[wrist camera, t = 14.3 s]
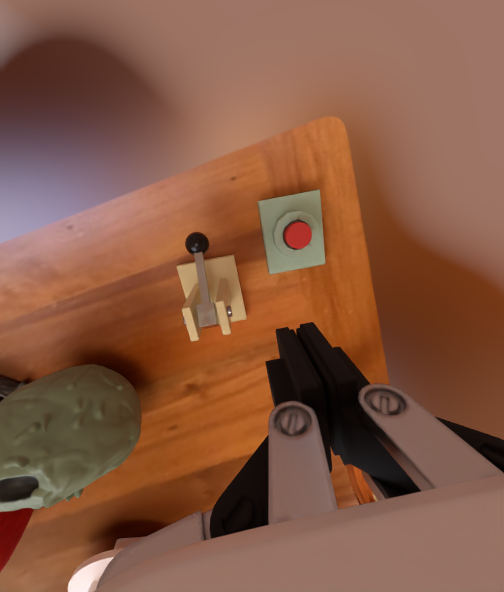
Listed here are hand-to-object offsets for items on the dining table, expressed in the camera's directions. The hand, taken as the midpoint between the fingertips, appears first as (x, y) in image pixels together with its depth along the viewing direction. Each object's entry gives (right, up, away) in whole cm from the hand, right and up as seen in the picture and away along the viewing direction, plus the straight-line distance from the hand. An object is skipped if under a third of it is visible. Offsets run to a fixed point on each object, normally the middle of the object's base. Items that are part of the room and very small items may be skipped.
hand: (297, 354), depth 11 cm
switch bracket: (-8, +3, +29) cm, 30 cm away
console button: (+4, +12, +24) cm, 27 cm away
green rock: (-29, -13, +33) cm, 46 cm away
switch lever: (-8, +5, +22) cm, 24 cm away
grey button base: (+4, +13, +27) cm, 30 cm away
